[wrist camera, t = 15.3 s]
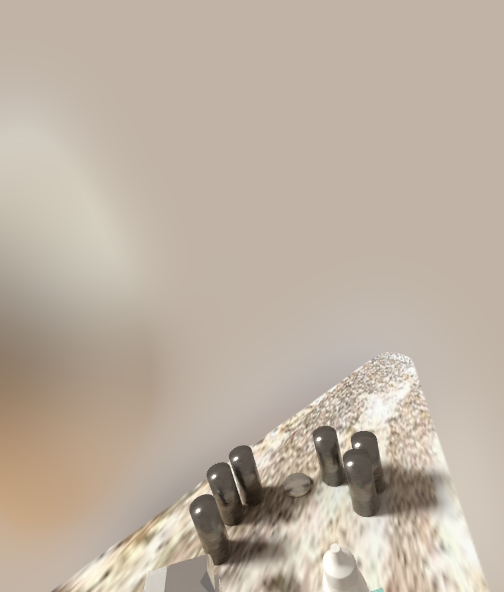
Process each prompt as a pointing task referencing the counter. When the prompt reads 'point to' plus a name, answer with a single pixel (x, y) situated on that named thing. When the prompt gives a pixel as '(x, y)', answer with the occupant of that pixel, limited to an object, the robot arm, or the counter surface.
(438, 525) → the counter surface
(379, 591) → the pad
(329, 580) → the eye dropper bottle
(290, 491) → the grey flat disc
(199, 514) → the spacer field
